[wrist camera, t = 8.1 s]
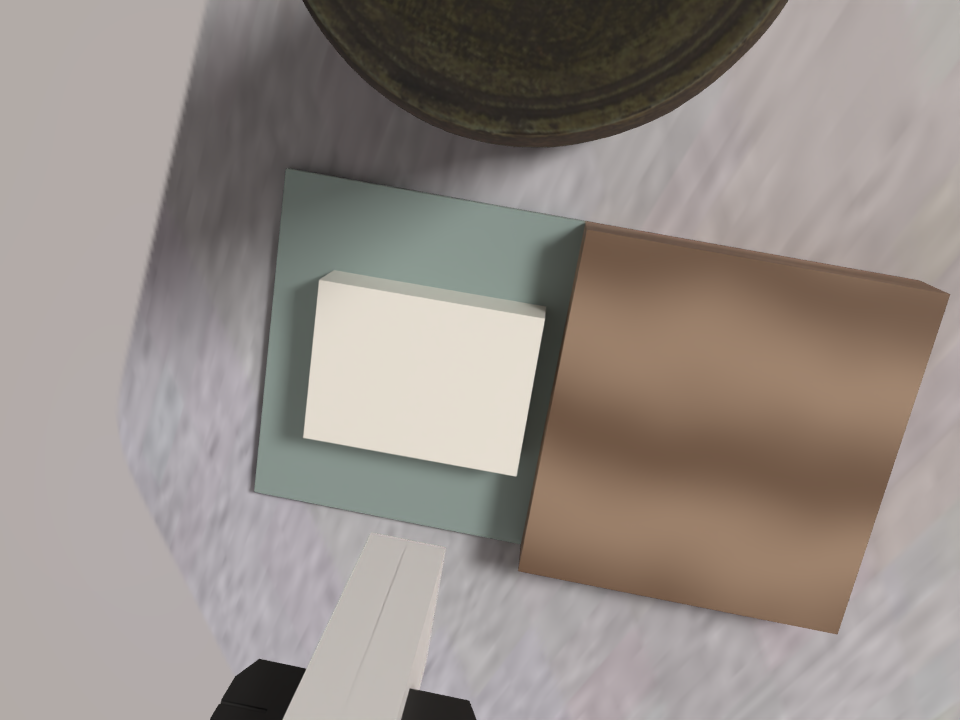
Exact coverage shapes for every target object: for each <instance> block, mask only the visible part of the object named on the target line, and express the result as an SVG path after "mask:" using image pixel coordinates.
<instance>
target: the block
mask: <svg viewBox="0 0 960 720" xmlns="http://www.w3.org/2000/svg"><path fill="white" fill-rule="evenodd" d="M545 313H546V306H540V305H534V304H528V303H522V302H517V301H511V300H505V299H499V298H493V297H488V296H482V295H476V294H470V293H464V292H458V291H453V290H447V289H441V288H435V287H429V286H423V285H418V284H412V283H406V282H400V281H394V280H388V279H383V278H377V277H371V276H365V275H359V274H354V273H348V272H342V271H336V270H334V271H332V272H330V273H329V274H327V275H326V276H324V277H323V278H321V279H320V280H319V287H318V296H317V306H316V316H315V326H314V336H313V346H312V356H311V366H310V376H309V386H308V395H307V405H306V415H305V425H304V435H303V438H307V439H313V440H318V441H324V442H329V443H335V444H340V445H346V446H351V447H357V448H362V449H368V450H373V451H379V452H384V453H390V454H395V455H401V456H406V457H412V458H417V459H423V460H428V461H434V462H439V463H445V464H450V465H456V466H461V467H467V468H472V469H478V470H483V471H489V472H494V473H500V474H505V475H511V476H517V470H518V465H519V459H520V454H521V448H522V443H523V437H524V432H525V426H526V421H527V415H528V410H529V404H530V399H531V393H532V387H533V382H534V376H535V371H536V365H537V360H538V354H539V349H540V343H541V338H542V332H543V327H544V321H545Z"/></svg>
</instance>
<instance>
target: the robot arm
mask: <svg viewBox="0 0 960 720" xmlns="http://www.w3.org/2000/svg"><path fill="white" fill-rule="evenodd" d="M445 550H446V547H441V546H436V545H431V544H426V543H421V542H416V541H411V540H406V539H401V538H396V537H391V536H386V535H381V534H376V533H371V534H370V536H369V538H368V540H367V542H366V544H365V546H364V548H363V551H362V553H361V555H360V557H359V559H358V561H357V563H356V565H355V567H354V570H353V572H352V574H351V576H350V578H349V580H348V582H347V584H346V587H345V589H344V591H343V593H342V595H341V597H340V599H339V601H338V603H337V606H336V608H335V610H334V612H333V614H332V616H331V618H330V620H329V622H328V625H327V627H326V629H325V631H324V633H323V635H322V637H321V639H320V641H319V644H318V646H317V648H316V650H315V652H314V654H313V656H312V658H311V660H310V663H309V665H308V667H307V669H305V668H300V667H296V666H291V665H286V664H281V663H276V662H272V661H267V660H262V659H259V660H257V661H256V662H254V663H253V664H252V665H250V666H249V667H248V668H246V669H245V670H243V671H242V672H241V673H239V674H238V675H237V676H235V678H234V679H233V681H232V683H231V685H230V686H229V688H228V690H227V691H226V693H225V695H224V696H223V698H222V700H221V704H219V705H218V707H217V708H216V710H215V711H214V713H213V715H212V717H211V719H210V720H476V717H475V715H474V712H473V709H472V707H471V704H470V701H468V700H463V699H459V698H454V697H449V696H444V695H440V694H435V693H430V692H425V691H420V690H419V689H420V685H421V681H422V677H423V673H424V670H425V666H426V661H427V655H428V649H429V643H430V637H431V632H432V626H433V620H434V614H435V608H436V602H437V597H438V591H439V585H440V579H441V573H442V567H443V562H444V556H445Z"/></svg>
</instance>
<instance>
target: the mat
mask: <svg viewBox="0 0 960 720" xmlns="http://www.w3.org/2000/svg"><path fill="white" fill-rule="evenodd" d="M584 227H585V221H582V220H577V219H571V218H566V217H560V216H554V215H549V214H543V213H538V212H532V211H526V210H521V209H515V208H509V207H504V206H498V205H493V204H487V203H481V202H476V201H470V200H465V199H459V198H453V197H448V196H442V195H437V194H431V193H425V192H420V191H414V190H408V189H403V188H397V187H392V186H386V185H380V184H375V183H369V182H364V181H358V180H352V179H347V178H341V177H335V176H330V175H324V174H319V173H313V172H307V171H302V170H296V169H291V168H288V169H286V171H285V181H284V192H283V202H282V212H281V222H280V233H279V243H278V253H277V263H276V274H275V284H274V294H273V304H272V315H271V325H270V335H269V345H268V356H267V366H266V376H265V386H264V397H263V407H262V417H261V427H260V438H259V448H258V458H257V468H256V479H255V489H254V492H257V493H262V494H267V495H272V496H278V497H283V498H288V499H293V500H298V501H303V502H308V503H313V504H318V505H323V506H328V507H334V508H339V509H344V510H349V511H354V512H359V513H364V514H369V515H374V516H379V517H384V518H389V519H395V520H400V521H405V522H410V523H415V524H420V525H425V526H430V527H435V528H440V529H445V530H450V531H456V532H461V533H466V534H471V535H476V536H481V537H486V538H491V539H496V540H501V541H506V542H512V543H517V544H521V541H522V536H523V531H524V526H525V521H526V516H527V511H528V506H529V501H530V496H531V491H532V486H533V481H534V476H535V471H536V466H537V461H538V456H539V451H540V446H541V441H542V436H543V431H544V426H545V421H546V416H547V411H548V406H549V401H550V396H551V391H552V387H553V382H554V377H555V372H556V367H557V362H558V357H559V352H560V347H561V342H562V337H563V332H564V327H565V322H566V317H567V312H568V307H569V302H570V297H571V292H572V287H573V282H574V277H575V272H576V267H577V262H578V257H579V252H580V247H581V242H582V237H583V232H584ZM334 270H336V271H342V272H348V273H354V274H359V275H365V276H371V277H377V278H383V279H388V280H394V281H400V282H406V283H412V284H418V285H423V286H429V287H435V288H441V289H447V290H453V291H458V292H464V293H470V294H476V295H482V296H488V297H493V298H499V299H505V300H511V301H517V302H522V303H528V304H534V305H540V306H546V313H545V321H544V327H543V332H542V338H541V343H540V349H539V354H538V360H537V365H536V371H535V376H534V382H533V387H532V393H531V399H530V404H529V410H528V415H527V421H526V426H525V432H524V437H523V443H522V448H521V454H520V459H519V465H518V470H517V476H511V475H505V474H500V473H494V472H489V471H483V470H478V469H472V468H467V467H461V466H456V465H450V464H445V463H439V462H434V461H428V460H423V459H417V458H412V457H406V456H401V455H395V454H390V453H384V452H379V451H373V450H368V449H362V448H357V447H351V446H346V445H340V444H335V443H329V442H324V441H318V440H313V439H307V438H303V435H304V425H305V415H306V405H307V395H308V386H309V376H310V366H311V356H312V346H313V336H314V326H315V316H316V306H317V296H318V287H319V280H320V279H321V278H323V277H324V276H326V275H327V274H329V273H330V272H332V271H334Z"/></svg>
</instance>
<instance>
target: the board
mask: <svg viewBox="0 0 960 720" xmlns="http://www.w3.org/2000/svg"><path fill="white" fill-rule="evenodd" d="M949 296H950V294H948V293H946V292H944V291H941V290H939V289H937V288H935V287H933V286H930V285H928V284H926V283H924V282H921V281H919V280H913V279H908V278H902V277H897V276H891V275H885V274H880V273H874V272H869V271H863V270H857V269H852V268H846V267H841V266H835V265H829V264H824V263H818V262H812V261H807V260H801V259H796V258H790V257H784V256H779V255H773V254H768V253H762V252H756V251H751V250H745V249H740V248H734V247H728V246H723V245H717V244H711V243H706V242H700V241H695V240H689V239H683V238H678V237H672V236H667V235H661V234H655V233H650V232H644V231H639V230H633V229H627V228H622V227H616V226H610V225H605V224H599V223H594V222H588V221H585V227H584V232H583V237H582V242H581V247H580V252H579V257H578V262H577V267H576V272H575V277H574V282H573V287H572V292H571V297H570V302H569V307H568V312H567V317H566V322H565V327H564V332H563V337H562V342H561V347H560V352H559V357H558V362H557V367H556V372H555V377H554V382H553V387H552V391H551V396H550V401H549V406H548V411H547V416H546V421H545V426H544V431H543V436H542V441H541V446H540V451H539V456H538V461H537V466H536V471H535V476H534V481H533V486H532V491H531V496H530V501H529V506H528V511H527V516H526V521H525V526H524V531H523V536H522V541H521V548H520V558H519V567H518V571H520V572H525V573H530V574H535V575H540V576H545V577H551V578H556V579H561V580H566V581H571V582H576V583H581V584H586V585H591V586H596V587H601V588H606V589H611V590H616V591H621V592H626V593H631V594H636V595H641V596H646V597H651V598H657V599H662V600H667V601H672V602H677V603H682V604H687V605H692V606H697V607H702V608H707V609H712V610H717V611H722V612H727V613H732V614H737V615H742V616H747V617H752V618H757V619H763V620H768V621H773V622H778V623H783V624H788V625H793V626H798V627H803V628H808V629H813V630H818V631H823V632H828V633H833V634H838V631H839V628H840V625H841V622H842V619H843V616H844V613H845V610H846V607H847V604H848V601H849V598H850V595H851V592H852V589H853V586H854V583H855V580H856V577H857V574H858V571H859V568H860V565H861V562H862V559H863V556H864V553H865V550H866V547H867V544H868V541H869V538H870V535H871V532H872V529H873V526H874V523H875V520H876V517H877V514H878V511H879V508H880V504H881V501H882V498H883V495H884V492H885V489H886V486H887V483H888V480H889V477H890V474H891V471H892V468H893V465H894V462H895V459H896V456H897V453H898V450H899V447H900V444H901V441H902V438H903V435H904V432H905V429H906V426H907V423H908V420H909V417H910V414H911V411H912V408H913V405H914V402H915V399H916V396H917V393H918V390H919V387H920V384H921V381H922V378H923V375H924V372H925V369H926V366H927V363H928V360H929V357H930V354H931V351H932V348H933V345H934V342H935V339H936V336H937V333H938V330H939V327H940V324H941V321H942V318H943V315H944V312H945V309H946V305H947V302H948V299H949Z"/></svg>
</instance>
